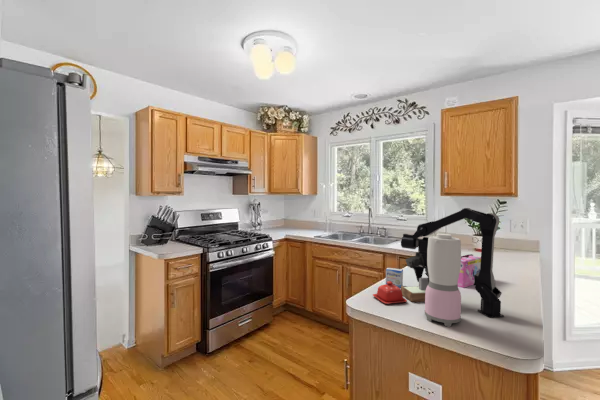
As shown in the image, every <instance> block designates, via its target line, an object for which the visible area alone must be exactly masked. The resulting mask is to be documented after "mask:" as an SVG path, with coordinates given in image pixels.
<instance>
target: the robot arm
mask: <svg viewBox="0 0 600 400" xmlns="http://www.w3.org/2000/svg"><path fill="white" fill-rule="evenodd" d="M465 219H466V220H467V219H468V220H469V221H473V222H474V223H478V224H479V229H480V233H481V237H482V238H481V252H480V253H481V254H480V257H481V265H480V272H479V273H477V274H475V275H474V280H475V282H474V284H473V285H472V286H474V288H475V291H476V292H477V293H478V294H479V296H480V298H481V299H480V309H477V312H479V313H480V314H482V315H484V316H486V317H488V318H503V317H505V315H503V314H502V312H501V311H502V310H501V308H502V302H501V300H500V298H501V296H502V295H503V292H502V291H501V290H500V289H499V288H498V287H497V286H496V280H495V276H494V271H493V267H494V264H493V263H494V249H495V237H496V234H497V231H498V228H499V224H500V217H499V215H497V214H495V213H492V212H488V213H486V212H482V211H479V210H475V209H472V208H469V207H464V208H462V209H460V210H457V211H456V212H453V213H451V214H449V215H446V216H444V217H441V218H439V219H436V220H432V221H427V222H424V223H420V224H418V225H417V227H416V231H415V232H414V233H413V234H410V233H403V234H402V238H401V240H400V246H401V248H402V249H410V250H416V249H417V248H418V251H417V252H415V255H413V256H411V257H408V258H406V259H405V263H406V266H407V267H408V268H410V269H413V271H414V274H415V277H416V281H417V282H418V283H419V278H423V275H424V274H425V275H426V276H427V278H428V284H429V273H428V266H427V248H428V238H429V236H432V235H433V234H435V233H436V232H438V231H439V230H441V229H442V228H445V227H446V226H449V225H451V224H454V223H457V222H460V221H462V220H465ZM421 237H422V238H421ZM424 271H425V273H424Z"/></svg>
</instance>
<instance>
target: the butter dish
mask: <svg viewBox="0 0 600 400" xmlns="http://www.w3.org/2000/svg"><path fill="white" fill-rule="evenodd" d="M372 296H373V297H375V299H377V300H379V301H380V302H382V303H383V304H385V305H387V304H388V305H389V304H396V303H405V302H408V299H406V298H405V297H403V295H402V291H401V288H399V287H397V286H395V285H392V282H391V281H388V282H387V284H386V283H385V284H381V285H379V286H378V287H377V292H376V293H373V294H372Z"/></svg>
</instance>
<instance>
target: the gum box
mask: <svg viewBox="0 0 600 400" xmlns="http://www.w3.org/2000/svg"><path fill="white" fill-rule="evenodd" d="M480 265H481V256H478V255H477V256H476V255H474V254H466V255H465V254H464V255H461V267H460V273H459V278H458V283H457V285H458V288H463V289H465V288H466V287H470V286H474V285H473V284H474V282H475V280H474V275H475V274H477V273H479V272H480Z"/></svg>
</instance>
